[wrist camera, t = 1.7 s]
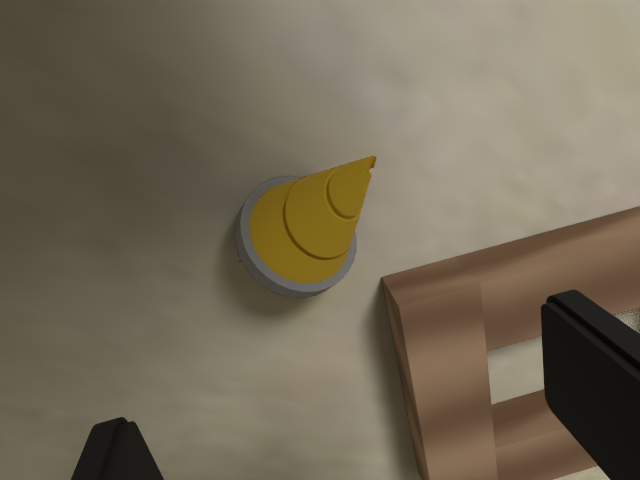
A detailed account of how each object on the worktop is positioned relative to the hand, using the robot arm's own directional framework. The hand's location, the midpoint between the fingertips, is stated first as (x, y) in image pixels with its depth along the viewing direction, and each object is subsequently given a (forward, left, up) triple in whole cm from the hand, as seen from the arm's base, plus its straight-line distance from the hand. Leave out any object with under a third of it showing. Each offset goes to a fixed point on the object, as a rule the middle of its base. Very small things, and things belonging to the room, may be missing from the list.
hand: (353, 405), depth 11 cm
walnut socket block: (+12, +14, -13) cm, 23 cm away
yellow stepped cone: (-1, 0, -13) cm, 13 cm away
